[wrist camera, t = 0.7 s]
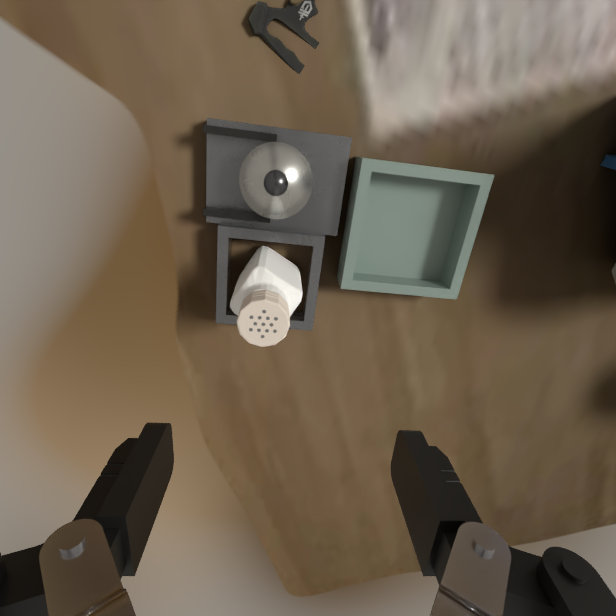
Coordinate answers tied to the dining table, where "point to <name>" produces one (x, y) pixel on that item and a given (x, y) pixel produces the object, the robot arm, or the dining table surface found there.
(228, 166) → the grey caddy
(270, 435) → the dining table surface
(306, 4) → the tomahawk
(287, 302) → the pepper shaker
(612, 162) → the blue boxy device
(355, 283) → the tray
